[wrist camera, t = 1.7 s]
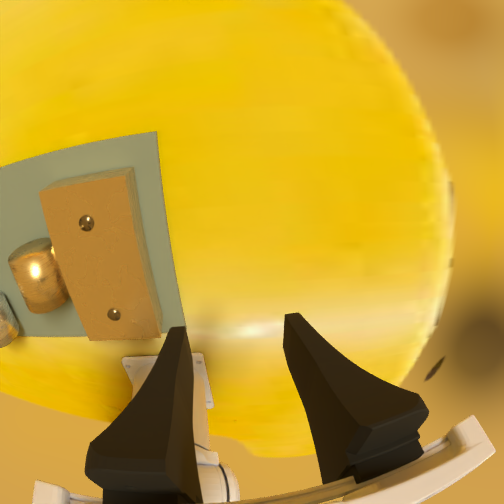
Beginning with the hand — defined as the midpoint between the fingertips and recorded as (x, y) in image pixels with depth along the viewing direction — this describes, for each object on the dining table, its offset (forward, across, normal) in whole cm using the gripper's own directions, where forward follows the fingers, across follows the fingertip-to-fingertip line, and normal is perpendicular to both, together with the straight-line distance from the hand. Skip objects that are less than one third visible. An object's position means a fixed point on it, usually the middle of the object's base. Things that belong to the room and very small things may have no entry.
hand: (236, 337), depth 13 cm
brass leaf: (+9, +10, 0) cm, 14 cm away
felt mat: (+10, +17, 0) cm, 20 cm away
